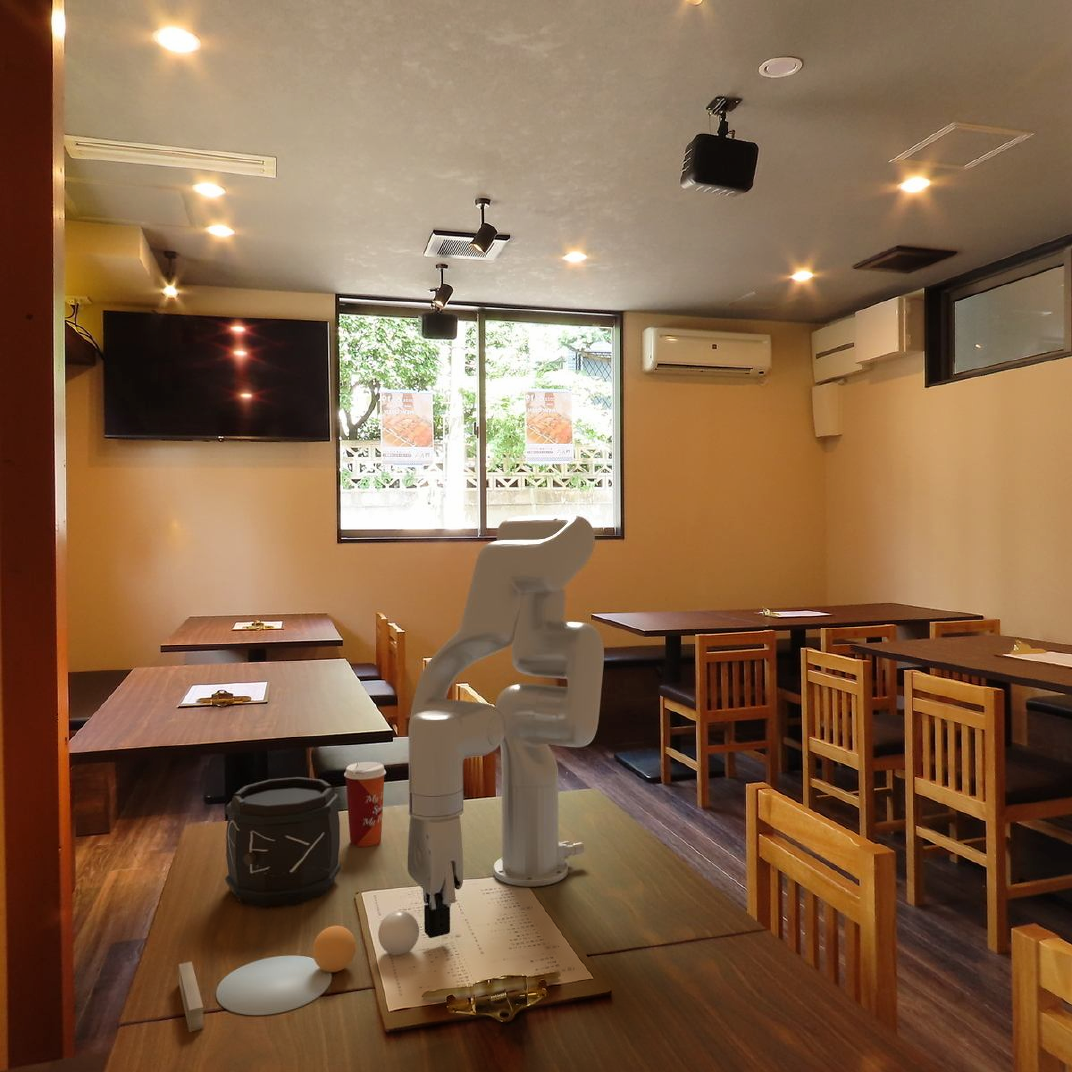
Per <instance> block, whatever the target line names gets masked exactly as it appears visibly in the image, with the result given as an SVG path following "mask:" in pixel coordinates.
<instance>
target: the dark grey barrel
mask: <svg viewBox="0 0 1072 1072" xmlns="http://www.w3.org/2000/svg"><path fill="white" fill-rule="evenodd" d="M340 802H341V798H340V795H338V794H337V793H336V792H335V790H334V787H333V785H331V784H330V783H328V782H327V781H325V780H323V779H319V778H312V777H311V778H309V777H302V776H301V777H300V776H295V777H285V778H273V779H272V778H271V779H270V778H269V779H267V780H263V781H257V782H255V783H251V784H248V785H244V786H243V787H242V788H240V789H239V790H237V791H236V792H235V793H234V794H233V795H232V800H231V801H230V802H229V803H227V804H226V805H225V809H224V813H226V815H227V824H226V831H225V835H226V836H225V841H226V842H225V843H226V846H225V847H226V849H225V850H226V855H225V856H226V862H227V863H226V865H227V870H228V871H227V872H228V875H227V876H226V877H225V878H224V879H225V883H226V885H227V887H229V888H230V890H231V891H232V894H233V895H234V897H235V898H236V897H237V898H236V899H237V900H238V902H239V903H240V904H241V905H246V906H250V905H251V906H250V907H257V908H263V909H273V908H274V909H275V908H282V907H291V906H299V905H303V904H305V903H308V902H309V901H312V900H314V899H317V898H319V897H322V896H324V895H326V894H327V893H328V891H329V890H330V888H331V887H332V885H333V884H334V883H335V881H336V880H335V879H336V877H337V875H338V874H339V873H340V871H341V867H342V865H341V864H340V863H339V855H340V854H339V853H340V845H341V839H340V838H341V837H340V836H341V828H340V826H341V825H340V823H341V821H340V816H339V815H340V813H339V807H338V805H339V803H340Z"/></svg>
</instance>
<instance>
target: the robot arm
mask: <svg viewBox="0 0 1072 1072" xmlns="http://www.w3.org/2000/svg"><path fill="white" fill-rule="evenodd" d="M496 531H497V532H496V540H495V541H491V542H489V543H486V544H485V545H484V546H483V547H482V548H481V549H480V551H479V552H478V554H477V558H476V562H475V565H474V570H473V574H472V578H471V582H470V585H469V589H468V594H467V599H466V602H465V607H464V609H463V614H462V617H461V623H460V625H459V626H460V627H459V628H458V630H457V631H456V633H454V634H453V636H452V637H450V638H449V639H448V640H447V641H446V642H444V644H443V645H442V646H441V647H440V648H439V649H438V650H437V651H436V653H435V654H433V656H432V657H431V659H430V660H429V661H428V663H427V664H426V666H425V667H424V668H423V670H422V672H421V675H420V677H419V680H418V682H417V683H418V684H417V687H416V689H415V690H416V691H415V692H414V693H415V694H414V697H413V702H412V705H411V710H410V717H409V722H408V723H409V724H408V815H409V816H410V817H409V826H408V839H407V840H408V841H407V842H408V843H407V845H408V846H407V871H408V874H409V876H410V877H411V879H413V881H414V882H415V883H416V884H417V885H418V886H419V887H420V888H421V889H422V898H423V903H424V905H423V908H424V910H423V913H424V916H423V917H424V919H423V920H424V921H423V923H424V926H423V927H424V933H425V934H426V936H427V937H428V938H429V939H432V938H437V937H441V936H445V935H449V934H450V933H451V906H452V904H455V903H456V901H457V900H456V890H460V889H461V888H462V887H463V883H464V851H463V849H464V848H463V835H462V834H463V833H462V826H461V825H462V824H461V817H460V816H461V815H463V813H464V760H465V759H470V758H476V757H484V756H486V755H489V754H491V753H493V752H495V751H496V750H497V748H499V747H500V757H501V840H502V841H501V852H502V854H501V856H502V857H500V858H499V859H497V860H496V861H495V862H494V863H493V865H492V866H493V867H492V870H493V871H492V872H493V875H494V877H495V878H496V879H497V880H498V881H500V882H502V883H505V884H507V885H511V886H517V887H543V886H547V885H552V884H555V883H557V882H561V880H563V879H565V878H566V877H567V875H568V873H569V865H568V863H567V861H566V860H567V859H569V857H571V856H578V855H583V854H584V853H585V845H584V843H583V842H581V841H580V842H575V843H571V842H570V841H569V840H563V841H560V839H559V838H560V837H559V833H560V831H559V768H558V762H557V760H556V757H555V755H554V753H553V751H552V750H551V747H550V746H551V745H552V746H561V747H567V748H569V747H570V748H582V747H585V746H588V745H589V744H590V743H591V742H592V741H593V740H594V738H595V736H596V735H597V734H596V733H597V730H598V725H599V718H600V710H601V696H602V684H603V673H604V662H605V659H604V658H605V650H604V642H603V638H602V636H601V634H600V632H599V630H598V629H597V628H596V627H595V626H594V625H592V624H590V623H586V622H583V621H581V622H579V621H565V614H566V613H565V611H566V600H567V599H566V597H567V596H566V591H565V586H567V585H568V583H570V582H571V581H572V580H573V578H575V577H576V575H577V574H578V573H579V572H581V570H582V569H583V568H584V567H585V566H586V565H587V564H588V562H589V561H590V559H591V558H592V555H593V552H594V550H595V544H596V537H595V531H594V528H593V526H592V524H591V523H590V522H589V520H587V519H586V518H584V517H582V516H579V515H569V514H568V515H565V514H564V515H523V516H516V517H511V518H508V519H505V520H504V521H501V523H500V524H499V526H498V528H497V530H496ZM510 646H511V654H510V656H511V657H510V658H511V664H512V666H513V668H514V669H515V671H516V672H518V673H521V674H523V675H526V676H532V677H542V678H551V679H552V678H555V679H566V680H567V686H556V685H550V684H549V685H548V684H538V683H518V684H516V683H515V684H513V685H509V686H508V687H505V688H504V689H502V691H501V692H500V693H499V695H498V696H497V699H496V701H495V706H494V705H492V704H488V703H485V702H475V701H466V700H460V699H459V700H458V699H449V698H447V696H448V693H449V690H450V688H451V686H452V684H453V682H454V681H455V680H456V678H457V677H458V676H459V675H460V674H461V673H462V672H463V671H464V670H466V669H467V668H468V667H471V665H473V664H475V663H477V662H479V661H481V660H483V659H485V658H487V657H490V656H492V655H495V654H497V653H499V652H501V651H503V650H505V649H507V648H509V647H510Z"/></svg>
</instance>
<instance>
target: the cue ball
mask: <svg viewBox="0 0 1072 1072" xmlns="http://www.w3.org/2000/svg"><path fill="white" fill-rule="evenodd" d="M377 937H378V942H379V943H380V946H381V948H382V949H383V951H385V952H386V953H388V954H390V955H394V956H402V955H406V954H407V953H409V952H410V951H411V950H413V948H414V947H415V946H416V944H417V942H418V940H419V937H420V928H419V923H418V921H417V919H416V918H415V916H413V915H412V913H410V912H408V911H405V910H394V911H392V912H391V913H388V914H387V915H385V917H384V918H383V919H382V921H381V922H380V925H379V927H378V935H377Z"/></svg>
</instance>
